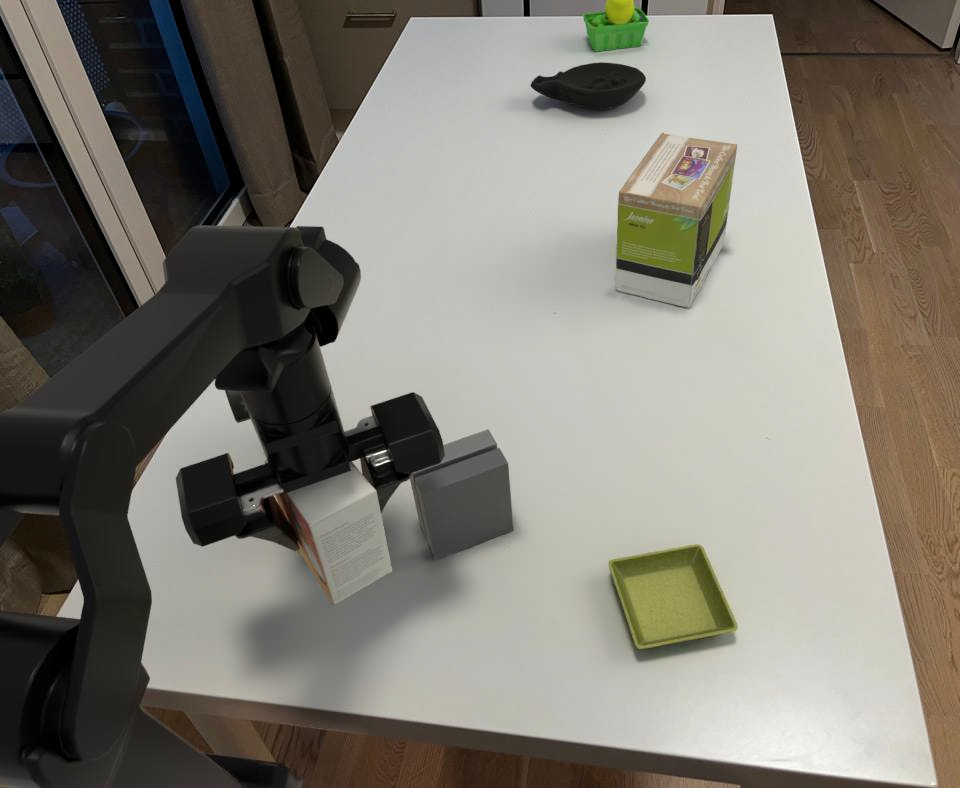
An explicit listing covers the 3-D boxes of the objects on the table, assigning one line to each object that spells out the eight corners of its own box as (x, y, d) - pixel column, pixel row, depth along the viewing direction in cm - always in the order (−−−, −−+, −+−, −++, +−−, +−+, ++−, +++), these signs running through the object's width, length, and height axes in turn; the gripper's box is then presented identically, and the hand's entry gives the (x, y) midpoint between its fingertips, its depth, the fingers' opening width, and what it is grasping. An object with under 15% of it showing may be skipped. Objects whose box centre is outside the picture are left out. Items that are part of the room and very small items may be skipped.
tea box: (652, 229, 109) (661, 128, 99) (725, 245, 106) (742, 142, 95) (612, 292, 100) (617, 188, 90) (689, 311, 97) (704, 205, 86)
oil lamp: (532, 86, 145) (531, 58, 141) (640, 81, 143) (642, 53, 139) (530, 124, 134) (529, 96, 131) (647, 119, 132) (649, 90, 129)
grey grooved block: (435, 560, 74) (421, 494, 67) (419, 524, 77) (405, 458, 70) (513, 530, 76) (508, 463, 69) (495, 496, 79) (488, 428, 72)
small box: (290, 541, 68) (261, 458, 60) (349, 510, 70) (327, 426, 62) (333, 608, 63) (307, 526, 55) (394, 572, 65) (377, 489, 58)
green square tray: (699, 555, 72) (701, 542, 71) (736, 642, 66) (740, 629, 65) (606, 572, 72) (607, 560, 70) (635, 662, 66) (636, 650, 64)
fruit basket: (637, 33, 158) (641, -28, 150) (650, 50, 152) (654, -13, 144) (581, 40, 158) (582, -21, 150) (591, 58, 151) (593, -5, 143)
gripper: (386, 289, 61) (413, 428, 71) (136, 363, 56) (206, 499, 67) (434, 379, 53) (457, 520, 64) (150, 472, 49) (226, 605, 60)
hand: (335, 531), depth 64 cm, fingers closed on small box, 6 cm apart
